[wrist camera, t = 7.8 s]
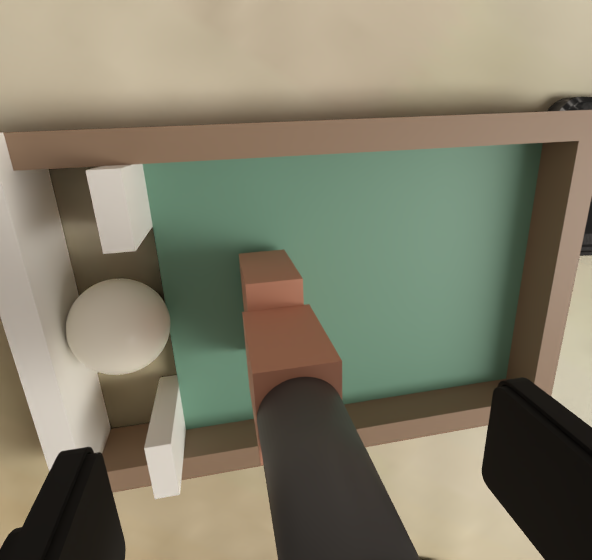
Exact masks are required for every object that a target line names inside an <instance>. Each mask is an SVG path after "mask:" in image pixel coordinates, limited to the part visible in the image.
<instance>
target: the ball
mask: <svg viewBox="0 0 592 560" xmlns="http://www.w3.org/2000/svg"><path fill="white" fill-rule="evenodd" d="M169 333H170V315H169V312H168V309H167V306H166V304H165V303H164V301H163V299H162V298H161V297H160V296H159V294H158V293H157V292H156V291H154V290H153V289H152V288H150V287H149V286H147V285H146V284H143V283H141V282H139V281H135V280H131V279H123V278H120V279H110V280H105V281H102V282H99V283H97V284H95V285H93V286H91V287H89V288H88V289H87V290H85V291H84V292H83V293H82V294H81V295H80V296H79V297H78V298H77V299H76V300H75V302H74V303H73V305H72V307H71V309H70V311H69V313H68V316H67V321H66V337H67V341H68V344H69V347H70V349H71V351H72V352H73V354H74V355H75V357H76V358H77V359H78V360H79V361H80V362H81V363H82V364H84V365H85V366H87V367H88V368H90V369H92V370H94V371H96V372H100V373H103V374H109V375H123V374H128V373H132V372H135V371H138V370H140V369H142V368H144V367H146V366H147V365H149V364H150V363H151V362H153V361H154V360H155V359H156V358H157V357H158V356H159V354H160V353H161V352H162V350H163V349H164V347H165V345H166V343H167V341H168V338H169Z"/></svg>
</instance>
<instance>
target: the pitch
mask: <svg viewBox="0 0 592 560" xmlns="http://www.w3.org/2000/svg"><path fill="white" fill-rule="evenodd" d="M95 166H101V167H97V168H93V169H89V170H86V175H87V180H88V184H89V189H90V194H91V199H92V203H93V208H94V213H95V218H96V222H97V227H98V232H99V237H100V241H101V246H102V251H103V254H108V253H120V252H131V251H136V250H137V249H138V247H139V246H140V244H141V243H142V241H143V240H144V238H145V237H146V235H147V234H148V232H149V231H150V230H151V228H152V227H153V231H154V237H155V243H156V249H157V256H158V262H159V268H160V274H161V280H162V286H163V292H164V298H165V304H166V306H167V309H168V312H169V315H170V335H171V341H172V347H173V353H174V359H175V366H176V372H177V375H173V376H166V377H160V379H159V383H158V388H157V392H156V397H155V401H154V406H153V410H152V415H151V419H150V423H146V424H139V425H133V426H126V427H120V428H113V429H111V427H110V423H109V419H108V415H107V411H106V406H105V402H104V398H103V394H102V390H101V386H100V381H99V377H98V373H97V372H96V371H94V370H92V369H90V368H88V367H87V366H85V365H84V364H82V363H81V362H80V361H79V360H78V359H77V358H76V357H75V355H74V354H73V352H72V351H71V349H70V347H69V344H68V341H67V337H66V321H67V316H68V313H69V311H70V309H71V307H72V305H73V303H74V302H75V300H76V299H77V298H78V297H79V294H78V290H77V286H76V282H75V277H74V273H73V269H72V265H71V261H70V257H69V252H68V248H67V244H66V240H65V236H64V232H63V227H62V223H61V219H60V215H59V211H58V207H57V202H56V198H55V194H54V190H53V186H52V182H51V177H50V173H49V169H57V168H76V167H95ZM591 197H592V110H574V111H548V112H522V113H496V114H470V115H445V116H419V117H393V118H367V119H341V120H315V121H289V122H264V123H238V124H212V125H186V126H160V127H134V128H109V129H83V130H57V131H31V132H5V133H0V317H1V320H2V323H3V327H4V330H5V333H6V336H7V339H8V342H9V346H10V349H11V352H12V355H13V358H14V361H15V364H16V368H17V371H18V374H19V377H20V380H21V383H22V387H23V390H24V393H25V396H26V399H27V402H28V405H29V409H30V412H31V415H32V418H33V421H34V424H35V428H36V431H37V434H38V437H39V440H40V443H41V446H42V450H43V453H44V456H45V459H46V462H47V465H48V469H49V472H50V469H51V467H52V465H53V463H54V461H55V459H56V457H57V456H58V454H59V453H60V452H61V451H65V450H71V449H78V448H84V447H91V448H92V449H93V451H94V453H97V452H101V453H102V455H103V458H104V462H105V466H106V470H107V474H108V478H109V481H110V485H111V489H112V493H113V492H118V491H124V490H129V489H135V488H141V487H146V486H152V488H153V493H154V498H155V499H159V498H164V497H170V496H175V495H180V489H181V480H185V479H191V478H196V477H202V476H207V475H213V474H219V473H224V472H230V471H235V470H241V469H246V468H252V467H258V466H263V465H261V463H260V456H259V449H258V443H257V436H256V429H255V422H254V415H253V408H252V401H251V395H250V388H249V379H248V368H247V358H246V347H245V336H244V326H243V315H242V312H244V306H243V295H242V284H241V273H240V263H239V254H240V253H251V252H262V251H273V250H285V252H286V253H287V255H288V256H289V258H290V259H291V261H292V262H293V264H294V266H295V267H296V269H297V270H298V272H299V273H300V275H301V277H302V278H303V297H304V305H307V304H309V305H310V306H311V308H312V310H313V312H314V313H315V315H316V317H317V318H318V320H319V322H320V324H321V325H322V327H323V329H324V331H325V332H326V334H327V336H328V337H329V339H330V341H331V343H332V344H333V346H334V348H335V350H336V351H337V353H338V355H339V356H340V358H341V360H342V401H343V403H344V405H345V407H346V410H347V412H348V414H349V416H350V418H351V420H352V422H353V424H354V426H355V428H356V430H357V432H358V434H359V436H360V438H361V440H362V442H363V444H364V446H365V447H369V446H375V445H380V444H386V443H391V442H397V441H403V440H408V439H414V438H419V437H425V436H430V435H436V434H442V433H447V432H453V431H458V430H464V429H470V428H475V427H481V426H486V425H488V423H489V416H490V409H491V403H492V396H493V391H494V389H495V388H497V387H498V384H499V383H500V381H503V380H508V379H515V378H521V377H523V378H527V379H529V380H530V381H531V382H533V383H534V384H535V385H537V386H538V387H539V388H541V389H542V390H543V391H544V392H546V393H547V394H548V395H550V396H551V394H552V389H553V384H554V379H555V375H556V370H557V365H558V360H559V355H560V350H561V345H562V340H563V335H564V330H565V325H566V320H567V316H568V311H569V306H570V301H571V296H572V291H573V286H574V281H575V276H576V271H577V266H578V261H579V256H580V252H581V247H582V242H583V237H584V232H585V227H586V222H587V217H588V212H589V207H590V202H591Z"/></svg>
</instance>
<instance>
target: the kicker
mask: <svg viewBox="0 0 592 560" xmlns="http://www.w3.org/2000/svg"><path fill="white" fill-rule="evenodd" d="M239 263H240V273H241V284H242V295H243V306H244V312H242V315H243V326H244V336H245V347H246V358H247V368H248V379H249V388H250V395H251V401H252V408H253V415H254V422H255V429H256V436H257V443H258V449H259V456H260V463H261V465H264V471H265V477H266V484H267V490H268V497H269V503H270V510H271V516H272V523H273V529H274V535H275V542H276V548H277V555H278V560H420V558H419V556H418V554H417V552H416V550H415V548H414V546H413V544H412V542H411V540H410V538H409V536H408V534H407V531H406V529H405V527H404V525H403V523H402V521H401V519H400V517H399V515H398V513H397V511H396V509H395V507H394V505H393V503H392V501H391V499H390V497H389V495H388V493H387V491H386V489H385V487H384V485H383V483H382V481H381V479H380V477H379V475H378V473H377V470H376V468H375V466H374V464H373V462H372V460H371V458H370V456H369V454H368V452H367V450H366V448H365V446H364V444H363V442H362V440H361V438H360V436H359V434H358V432H357V430H356V428H355V426H354V424H353V422H352V420H351V418H350V416H349V414H348V412H347V410H346V407H345V405H344V403H343V401H342V360H341V358H340V356H339V355H338V353H337V351H336V350H335V348H334V346H333V344H332V343H331V341H330V339H329V337H328V336H327V334H326V332H325V331H324V329H323V327H322V325H321V324H320V322H319V320H318V318H317V317H316V315H315V313H314V312H313V310H312V308H311V306H310V305H309V304H307V305H304V297H303V278H302V277H301V275H300V273H299V272H298V270H297V269H296V267H295V266H294V264H293V262H292V261H291V259H290V258H289V256H288V255H287V253H286V252H285V250H273V251H262V252H251V253H240V254H239Z"/></svg>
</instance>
